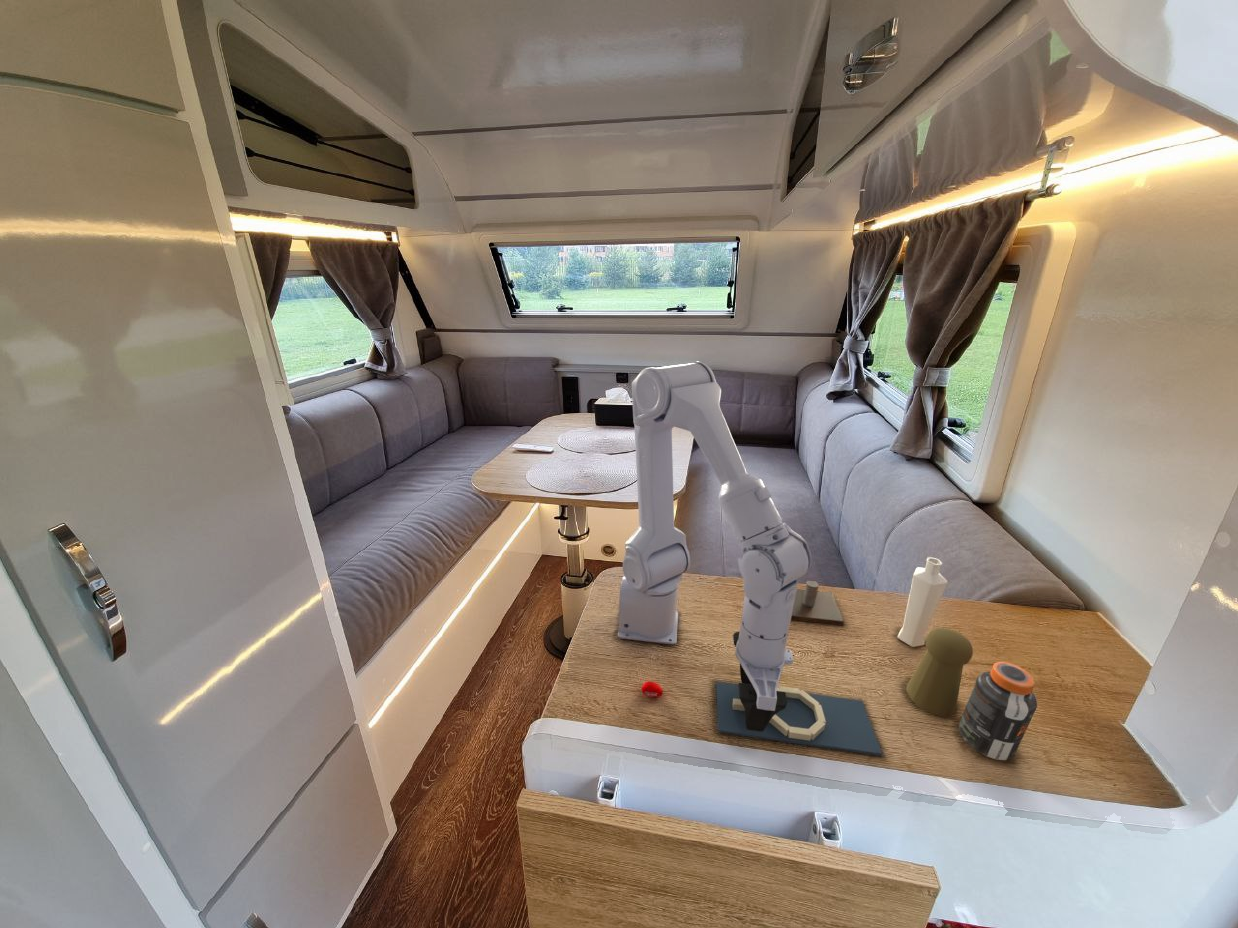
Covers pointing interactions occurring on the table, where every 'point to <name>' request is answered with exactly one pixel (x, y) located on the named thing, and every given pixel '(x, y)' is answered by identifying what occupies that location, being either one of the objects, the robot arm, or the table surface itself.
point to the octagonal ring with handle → (794, 731)
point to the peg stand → (816, 606)
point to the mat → (805, 722)
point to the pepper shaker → (940, 672)
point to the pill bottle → (999, 711)
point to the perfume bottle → (922, 602)
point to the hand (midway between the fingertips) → (751, 704)
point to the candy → (652, 689)
